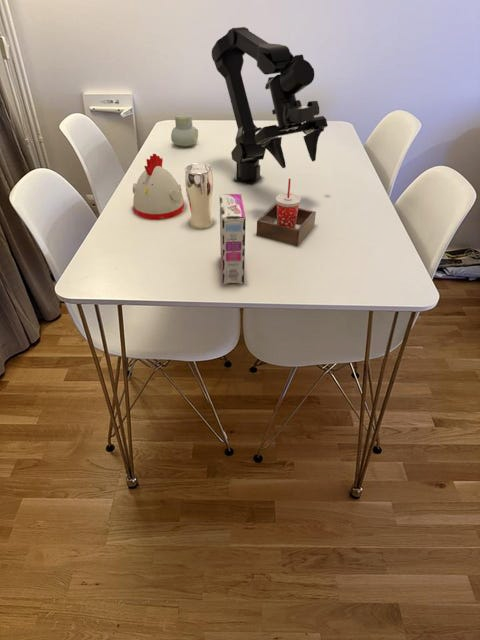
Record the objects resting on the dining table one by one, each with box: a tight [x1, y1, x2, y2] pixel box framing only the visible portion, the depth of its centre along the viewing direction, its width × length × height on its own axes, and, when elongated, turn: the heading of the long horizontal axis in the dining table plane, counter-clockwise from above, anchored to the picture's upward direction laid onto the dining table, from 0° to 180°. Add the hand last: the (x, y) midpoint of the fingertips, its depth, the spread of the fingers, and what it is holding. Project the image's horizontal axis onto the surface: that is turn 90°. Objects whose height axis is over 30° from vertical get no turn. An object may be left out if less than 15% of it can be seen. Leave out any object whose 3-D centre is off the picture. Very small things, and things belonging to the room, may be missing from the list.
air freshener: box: [170, 112, 199, 147], centre depth 164 cm, size 11×8×10 cm
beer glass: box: [184, 162, 214, 230], centre depth 118 cm, size 7×7×15 cm
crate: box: [256, 202, 317, 247], centre depth 118 cm, size 11×11×4 cm
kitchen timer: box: [132, 153, 185, 221], centre depth 124 cm, size 14×14×15 cm
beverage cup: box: [275, 178, 302, 229], centre depth 115 cm, size 6×6×14 cm
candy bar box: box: [219, 193, 247, 286], centre depth 100 cm, size 11×5×16 cm, turn 5°
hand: (299, 164), depth 118 cm, fingers open, 9 cm apart
